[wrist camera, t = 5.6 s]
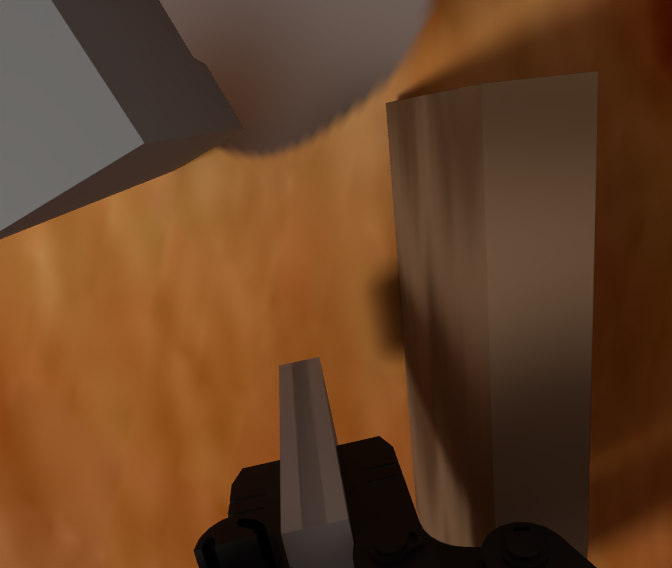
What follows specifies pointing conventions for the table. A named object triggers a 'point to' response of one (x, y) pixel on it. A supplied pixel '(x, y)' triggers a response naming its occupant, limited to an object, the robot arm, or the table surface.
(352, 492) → the robot arm
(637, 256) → the table surface
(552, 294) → the door
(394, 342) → the table surface
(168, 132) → the grey upright posts
